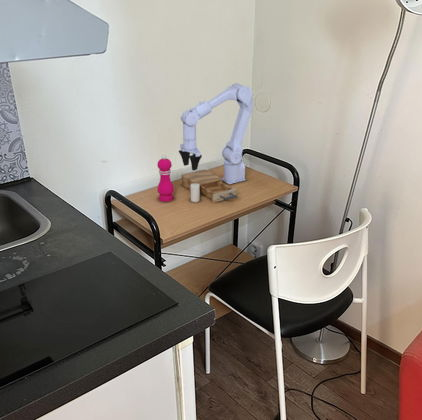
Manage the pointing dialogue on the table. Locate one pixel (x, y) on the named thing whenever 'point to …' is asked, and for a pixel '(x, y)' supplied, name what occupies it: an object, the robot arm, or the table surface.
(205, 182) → the cabinet
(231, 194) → the drawer
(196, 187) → the spice jar
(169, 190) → the pepper mill
